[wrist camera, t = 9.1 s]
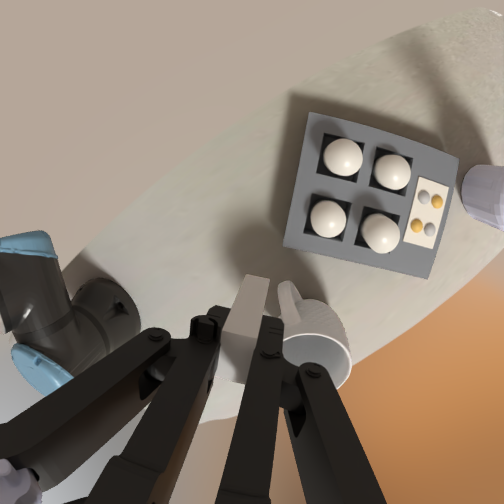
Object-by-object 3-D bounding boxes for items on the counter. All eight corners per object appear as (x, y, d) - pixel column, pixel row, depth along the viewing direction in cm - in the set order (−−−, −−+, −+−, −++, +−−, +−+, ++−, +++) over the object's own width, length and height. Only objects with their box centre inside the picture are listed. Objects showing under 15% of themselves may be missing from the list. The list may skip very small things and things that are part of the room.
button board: (283, 238, 43) (282, 246, 39) (308, 116, 37) (309, 111, 33) (418, 269, 41) (428, 280, 37) (447, 158, 35) (460, 158, 31)
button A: (307, 225, 41) (307, 233, 37) (313, 195, 39) (315, 199, 35) (337, 232, 40) (341, 240, 36) (344, 202, 39) (349, 207, 35)
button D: (367, 182, 38) (375, 184, 33) (373, 151, 36) (382, 150, 32) (396, 190, 37) (406, 193, 33) (402, 160, 36) (413, 160, 32)
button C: (356, 239, 39) (362, 249, 34) (364, 208, 37) (372, 214, 33) (385, 246, 38) (394, 256, 34) (393, 216, 37) (404, 223, 33)
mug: (252, 280, 46) (234, 323, 33) (319, 253, 43) (325, 290, 31) (289, 353, 49) (284, 407, 36) (350, 332, 46) (361, 384, 33)
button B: (319, 170, 37) (322, 170, 33) (326, 137, 35) (329, 134, 31) (352, 177, 36) (358, 179, 32) (358, 146, 35) (365, 144, 31)
